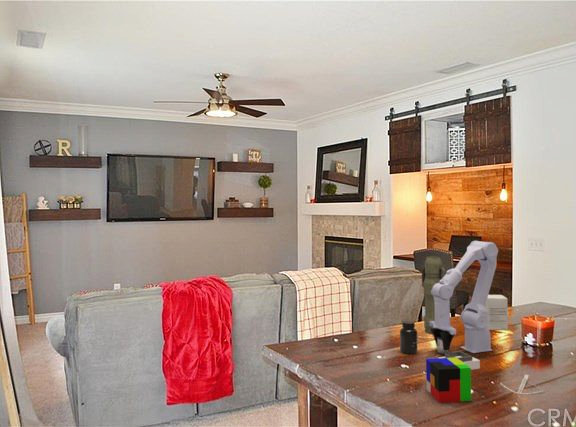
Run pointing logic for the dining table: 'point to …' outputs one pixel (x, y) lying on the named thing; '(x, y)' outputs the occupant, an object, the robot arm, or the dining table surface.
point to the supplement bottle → (408, 338)
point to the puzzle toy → (448, 379)
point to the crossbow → (522, 387)
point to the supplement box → (497, 312)
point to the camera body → (464, 359)
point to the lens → (441, 345)
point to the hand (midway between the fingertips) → (442, 348)
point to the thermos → (429, 278)
